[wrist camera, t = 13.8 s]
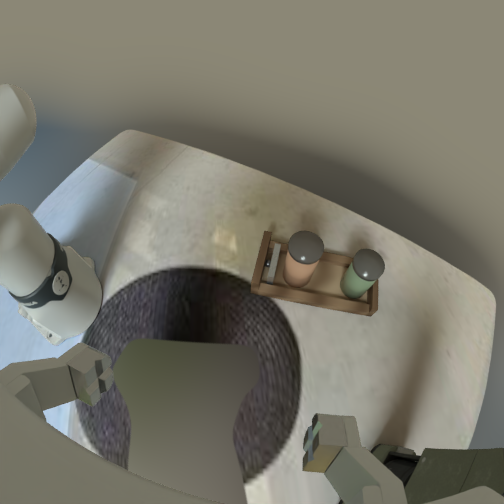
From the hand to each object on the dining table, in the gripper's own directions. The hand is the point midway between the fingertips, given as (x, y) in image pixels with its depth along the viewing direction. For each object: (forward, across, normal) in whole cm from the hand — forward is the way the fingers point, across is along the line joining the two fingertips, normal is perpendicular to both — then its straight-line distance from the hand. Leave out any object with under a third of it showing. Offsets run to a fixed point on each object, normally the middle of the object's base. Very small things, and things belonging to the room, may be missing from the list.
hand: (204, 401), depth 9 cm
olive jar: (+38, -15, +6) cm, 42 cm away
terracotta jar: (+38, -5, +6) cm, 39 cm away
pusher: (+38, 0, +5) cm, 39 cm away
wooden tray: (+39, -8, +6) cm, 40 cm away
